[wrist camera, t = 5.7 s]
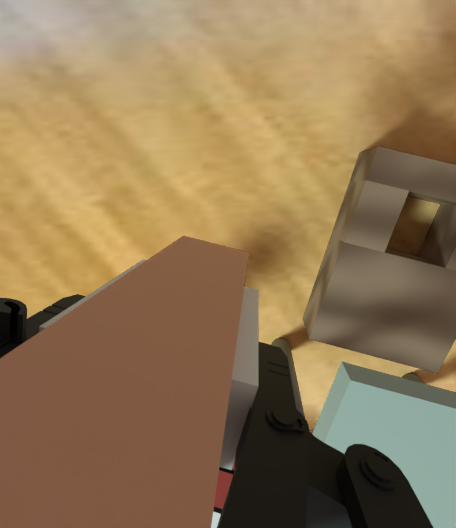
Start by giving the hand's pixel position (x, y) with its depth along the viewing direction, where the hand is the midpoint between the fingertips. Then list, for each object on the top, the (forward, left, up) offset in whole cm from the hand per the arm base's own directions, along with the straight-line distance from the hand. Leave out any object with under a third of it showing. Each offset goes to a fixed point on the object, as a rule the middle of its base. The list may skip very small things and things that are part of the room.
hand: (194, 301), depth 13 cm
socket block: (-2, +18, -21) cm, 28 cm away
